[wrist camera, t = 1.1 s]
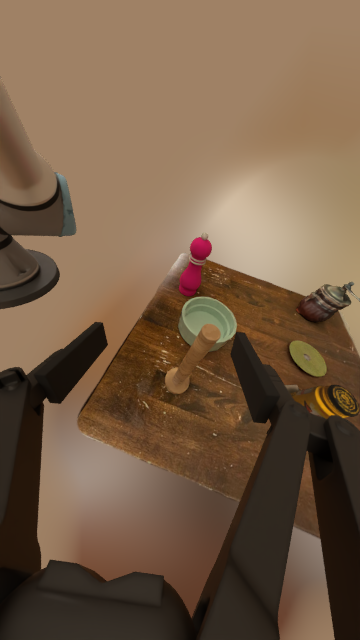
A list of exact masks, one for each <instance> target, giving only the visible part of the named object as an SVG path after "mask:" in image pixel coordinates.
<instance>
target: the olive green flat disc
mask: <svg viewBox="0 0 360 640" xmlns="http://www.w3.org/2000/svg"><path fill="white" fill-rule="evenodd" d="M289 348H290V353H291V356H292V357H293V359H294V361H295V362H296V363H297V364H298V366H300V368H302V369H303V370H304V371H305V372H307V373H309V374H311V375H314V376H318V377H319V376H323V375H324V374H325V373H326V369H327V368H326V364H325V362H324V360H323V358H322V356H321V355H320V354H319V353H318V351H317V350H315V349H314V348H313V347H312V346H310V345H309V344H307V343H305V342H302V341H293V342H292V343H291V344H290V347H289Z"/></svg>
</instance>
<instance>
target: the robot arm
mask: <svg viewBox="0 0 360 640" xmlns="http://www.w3.org/2000/svg"><path fill="white" fill-rule="evenodd" d="M75 233H76V224H75V218H74V214H73V209H72V203H71V199H70V194H69V189H68V185H67V181H66V179H65V177H64V176H63V175H60V174H58V173H56V172H54V171H53V170H52V167H51V166H50V164H49V163H48V162H47V161H46V160H45V159H44V157H42V156H41V155H40V154H39V153H38V152H36V151H35V150H34V149H33V147H32V144H31V142H30V140H29V138H28V136H27V134H26V131H25V129H24V127H23V125H22V123H21V120H20V119H19V116H18V114H17V112H16V110H15V108H14V105H13V103H12V101H11V99H10V97H9V95H8V92H7V90H6V88H5V86H4V84H3V82H2V79H1V77H0V291H5V290H10V289H14V288H18V287H20V286H23V285H25V284H27V283H29V282H31V281H32V280H34V279H35V278H36V277H37V276H38V274H39V273H40V265H39V264H38V262H37V260H36V259H35V258H34V257H33V256H32V255H31V254H30V253H29V252H28V251H27V250H25V249H24V248H23V247H22V246H21V245H20V244H19V243H18V242H16V241H15V240H14V239H13V237H12V236H11V235H34V236H59V237H62V236H70V235H74V234H75ZM107 345H108V343H107V339H106V335H105V331H104V326H103V323H101V322H95V323H94V324H92V325H91V326H90V327H89V328H88V329H87V330H85V331H84V332H83V333H82V334H81V335H79V336H78V337H77V338H76V339H75V340H73V341H72V342H71V343H70V344H69V345H67V346H66V347H65V348H64V349H60V350H58V351H56V352H54V353H53V354H52V355H51V356H49V358H47V359H46V360H44V362H42V363H41V364H40V365H38V366H37V367H36V368H35V369H34V370H32V371H31V372H30V373H29V374H28V375H25V373H24V371H23V370H22V368H20V367H14V368H9V369H7V370H4V371H2V372H0V640H279V639H280V637H279V629H278V609H279V603H280V597H281V592H282V586H283V580H284V574H285V569H286V563H287V558H288V552H289V546H290V541H291V535H292V529H293V524H294V518H295V512H296V507H297V501H298V495H299V490H300V484H301V478H302V473H303V467H304V461H305V456H306V451H308V454H309V461H310V468H311V475H312V482H313V489H314V496H315V503H316V510H317V517H318V524H319V531H320V538H321V545H322V552H323V559H324V566H325V574H326V580H327V588H328V595H329V602H330V609H331V616H332V622H333V629H334V637H335V640H360V431H359V430H358V429H357V428H356V427H355V426H354V425H353V424H352V423H351V422H349V421H348V420H346V419H344V418H342V417H340V416H337V415H331V416H330V417H328V419H325V418H322V417H320V416H317V415H314V414H312V413H310V412H309V411H308V410H307V409H306V408H305V407H304V406H303V405H302V404H300V403H298V402H296V401H295V400H294V399H293V397H292V396H291V394H290V393H289V391H288V390H287V388H286V386H285V385H284V383H283V382H282V380H281V379H280V377H279V376H278V374H277V372H276V371H275V370H274V369H273V368H272V367H271V366H270V365H264V364H262V363H261V361H260V359H259V357H258V356H257V354H256V352H255V350H254V349H253V347H252V345H251V343H250V342H249V340H248V338H247V336H246V335H245V333H241V332H236V335H235V339H234V343H233V347H232V351H231V357H232V360H233V363H234V366H235V369H236V372H237V375H238V378H239V381H240V384H241V387H242V390H243V392H244V395H245V398H246V401H247V404H248V407H249V410H250V413H251V416H252V419H253V422H256V423H266V422H267V420H268V418H269V420H270V423H271V426H270V428H269V430H268V431H267V433H266V434H267V436H266V438H265V441H264V443H263V446H262V448H261V451H260V453H259V456H258V458H257V461H256V463H255V466H254V468H253V471H252V473H251V476H250V478H249V481H248V483H247V486H246V488H245V491H244V493H243V496H242V498H241V501H240V503H239V506H238V508H237V511H236V513H235V516H234V518H233V520H232V523H231V525H230V528H229V530H228V533H227V536H226V538H225V540H224V543H223V546H222V548H221V550H220V553H219V555H218V558H217V560H216V562H215V565H214V567H213V569H212V571H211V573H210V575H209V577H208V579H207V582H206V584H205V587H204V589H203V591H202V594H201V596H200V599H199V602H198V604H197V606H196V609H195V611H194V614H193V616H192V618H191V617H190V614H189V612H188V610H187V608H186V606H185V604H184V602H183V600H182V599H181V597H180V596H179V594H178V593H177V592H176V590H175V589H174V588H173V587H172V586H171V585H170V584H169V583H167V582H166V581H165V580H164V576H161V575H154V574H148V573H140V572H133V573H130V574H127V575H124V576H122V577H119V578H116V579H113V580H111V581H108V582H107V581H106V580H105V579H103V578H102V577H101V576H100V575H99V574H97V573H96V572H95V571H93V570H91V569H88V568H86V567H84V566H81V565H79V564H77V563H70V562H62V561H56V560H50V561H49V563H48V565H47V567H46V568H44V569H42V570H41V552H40V546H39V543H38V539H37V522H38V505H39V486H40V468H41V450H42V431H43V413H44V404H43V401H44V399H45V398H46V397H47V399H48V400H49V402H50V403H58V404H60V403H61V402H62V401H63V400H64V399H65V397H66V396H67V395H68V393H69V392H70V391H71V390H72V389H73V388H74V386H75V385H76V384H77V383H78V381H79V380H80V379H81V378H82V376H83V375H84V374H85V372H86V371H87V370H88V369H89V368H90V366H91V365H92V364H93V363H94V361H95V360H96V359H97V358H98V356H99V355H100V354H101V353H102V352H103V350H104V349H105V348H106V347H107Z"/></svg>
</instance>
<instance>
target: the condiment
mask: <svg viewBox="0 0 360 640" xmlns="http://www.w3.org/2000/svg"><path fill="white" fill-rule="evenodd" d="M285 386H286V388H287V390H288V391H289V393H290V394H291V396H292V397H293V399H294V400H295V401H296V402H298V403H300V404H302V405H303V406H304V407H305V408H306V409H307V410H308V411H309V412H310V413H312V414H314V415H317V416H320V417H322V418H325V419H328V417H330V416H331V415H337V416H340V417H342V418H344V417H354V416H357V415H358V413H359V405H358V403H357V401H356V399H355V398H354V396H353V395H352V394H351V393H350V392H349V391H348V390H346V389H345V388H343V387H341V386H339V385H331V386H325V387H324V386H317V387H314V388H310V389H306V390H302V391H299V388H298V387H297V385H285Z"/></svg>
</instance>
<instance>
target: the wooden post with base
mask: <svg viewBox="0 0 360 640" xmlns="http://www.w3.org/2000/svg"><path fill="white" fill-rule="evenodd" d="M220 336H221V332H220V330H219V329H218V327H216V326H215V325H213V324H205V325H204V326H203V327H202V328H201V330H200V332H199V334H198V335H197V337H196V339H195V340H194V342H193V344H192V346H191V347H190V349H189V351H188V352H187V354H186V356H185V358H184V359H183V361H182V363H181V364H180V366H179V368H173V369H171V370H170V371H169V372H168V373H167V375H166V377H165V386H166V388H167V390H168V391H169V392H171V393H172V394H182V393H183V392H185V391H186V390H187V388H188V386H189V382H190V381H189V374H190V373H191V372H192V371H193V370H194V368H195V367H196V366H197V365H198V364H199V362H200V361H201V360H202V359H203V358H204V356H205V355H206V354H207V353H208V352H209V350H210V349H211V348H212V347H213V346H214V345H215V343H216V342H217V341H218V340H219V339H220Z"/></svg>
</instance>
